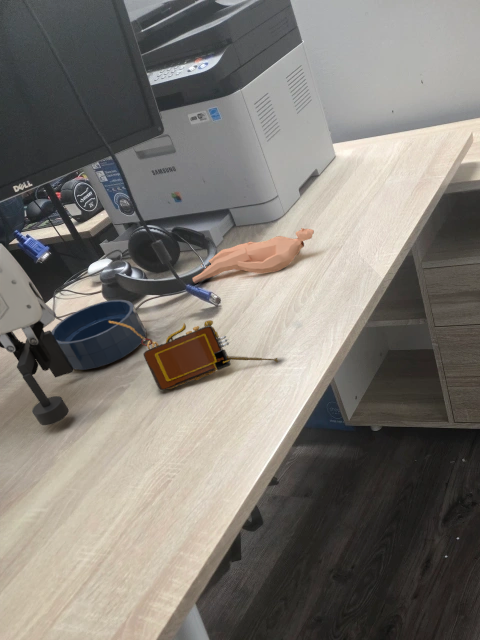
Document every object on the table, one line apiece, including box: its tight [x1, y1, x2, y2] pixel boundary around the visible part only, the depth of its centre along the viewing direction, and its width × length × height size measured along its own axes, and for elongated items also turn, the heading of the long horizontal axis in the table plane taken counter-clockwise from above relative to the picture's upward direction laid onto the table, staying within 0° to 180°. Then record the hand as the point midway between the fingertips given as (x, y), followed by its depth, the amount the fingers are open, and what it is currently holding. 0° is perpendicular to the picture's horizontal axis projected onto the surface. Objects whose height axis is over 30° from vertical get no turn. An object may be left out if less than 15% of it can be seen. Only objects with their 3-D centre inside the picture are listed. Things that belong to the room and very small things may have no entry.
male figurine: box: [192, 227, 315, 284], centre depth 124 cm, size 11×5×25 cm
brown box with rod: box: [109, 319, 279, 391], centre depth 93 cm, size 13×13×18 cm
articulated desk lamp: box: [16, 329, 75, 426], centre depth 96 cm, size 16×4×9 cm, turn 16°
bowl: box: [50, 299, 147, 371], centre depth 110 cm, size 14×14×6 cm
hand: (41, 367), depth 96 cm, fingers closed on articulated desk lamp, 1 cm apart
